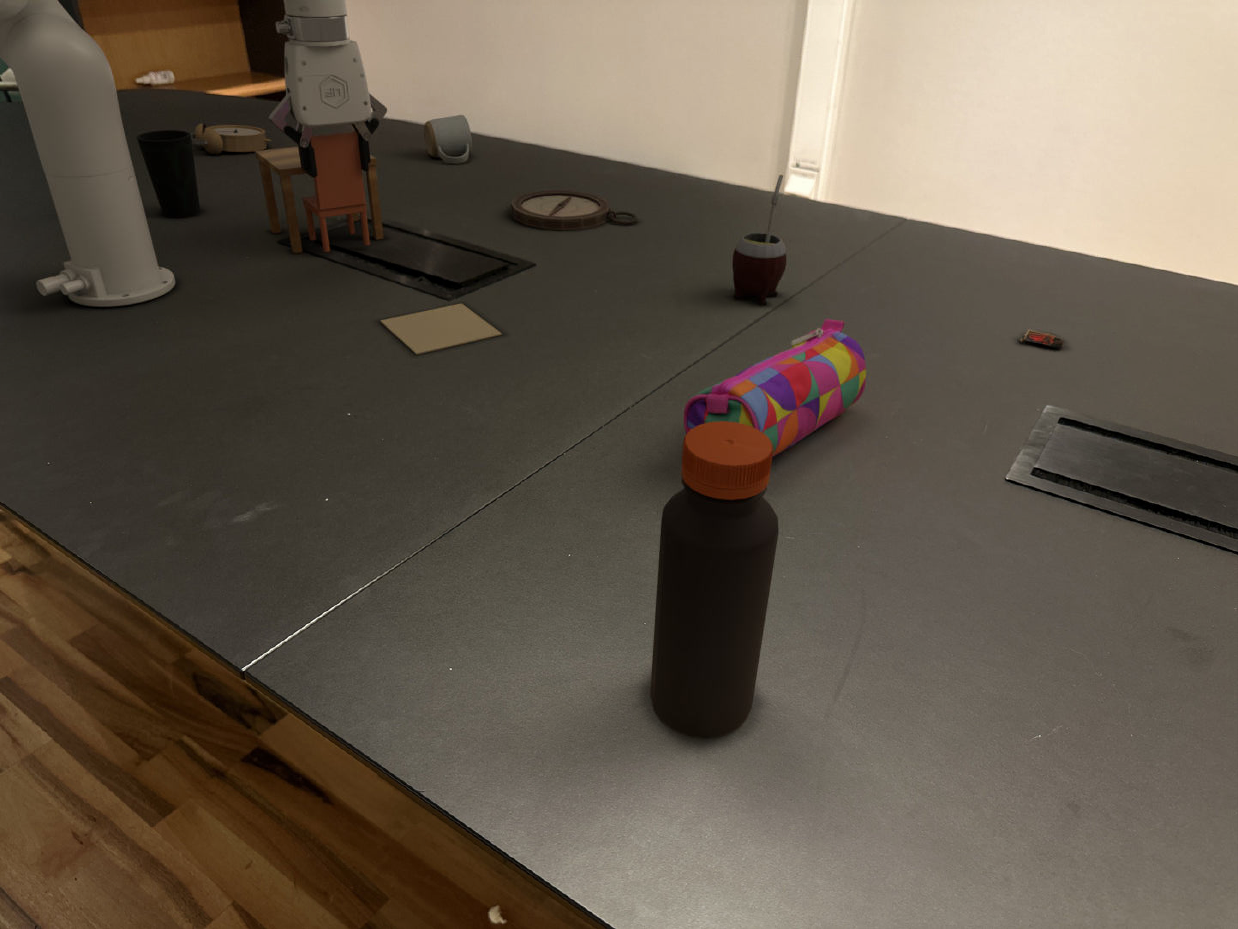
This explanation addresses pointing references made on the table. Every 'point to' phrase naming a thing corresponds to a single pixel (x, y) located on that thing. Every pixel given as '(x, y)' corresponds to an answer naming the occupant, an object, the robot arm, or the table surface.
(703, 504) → the bottle
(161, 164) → the cup
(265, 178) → the side table
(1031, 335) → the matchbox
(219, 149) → the alarm clock
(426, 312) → the mat
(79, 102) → the robot arm
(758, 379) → the pencil case
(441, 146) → the ceramic mug
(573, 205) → the compass
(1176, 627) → the table surface
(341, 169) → the chair
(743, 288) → the mate gourd
